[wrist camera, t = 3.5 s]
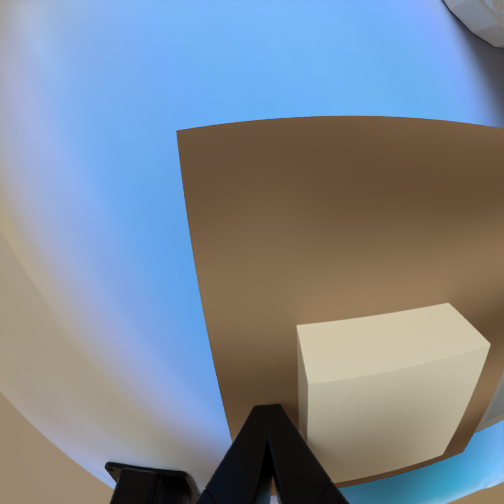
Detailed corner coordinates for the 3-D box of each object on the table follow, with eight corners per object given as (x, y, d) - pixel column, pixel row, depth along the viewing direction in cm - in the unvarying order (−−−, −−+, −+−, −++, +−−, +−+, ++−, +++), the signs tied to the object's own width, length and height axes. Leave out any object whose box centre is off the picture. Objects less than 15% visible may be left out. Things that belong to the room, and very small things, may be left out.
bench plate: (438, 408, 15) (462, 452, 11) (249, 440, 16) (247, 496, 12) (481, 133, 10) (542, 137, 6) (203, 137, 11) (176, 130, 7)
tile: (420, 410, 10) (442, 454, 8) (298, 433, 10) (305, 487, 8) (448, 302, 8) (490, 344, 6) (296, 325, 9) (308, 384, 6)
